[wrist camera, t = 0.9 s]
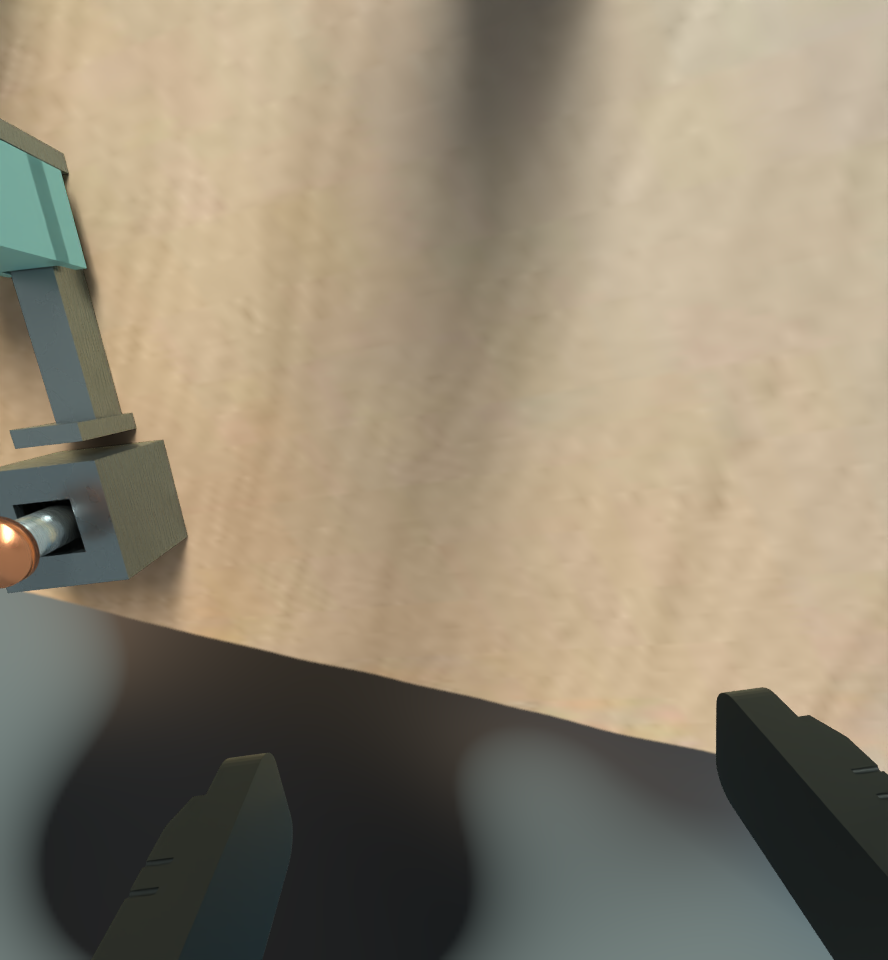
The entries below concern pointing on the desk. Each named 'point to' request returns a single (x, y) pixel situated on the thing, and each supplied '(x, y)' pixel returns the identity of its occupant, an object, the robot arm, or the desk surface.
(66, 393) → the rail
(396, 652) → the desk surface
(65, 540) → the plunger
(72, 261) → the carriage
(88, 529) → the grey cube with hole
